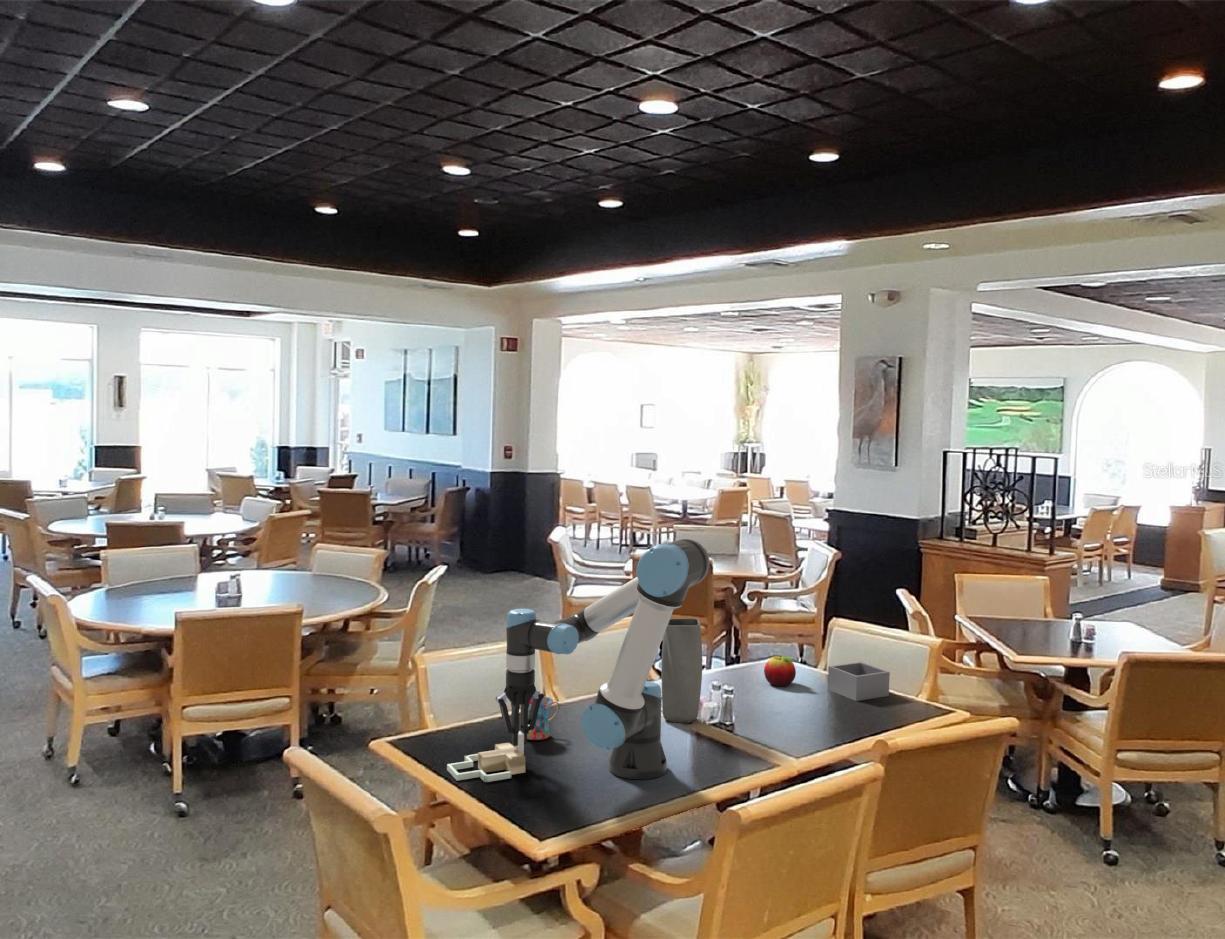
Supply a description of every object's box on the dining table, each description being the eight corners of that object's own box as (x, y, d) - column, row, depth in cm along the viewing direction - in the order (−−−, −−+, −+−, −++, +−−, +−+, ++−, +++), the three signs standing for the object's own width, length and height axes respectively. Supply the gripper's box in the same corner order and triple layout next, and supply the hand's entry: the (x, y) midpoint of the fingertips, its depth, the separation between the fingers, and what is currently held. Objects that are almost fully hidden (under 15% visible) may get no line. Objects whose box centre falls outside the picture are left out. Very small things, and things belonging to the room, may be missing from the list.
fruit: (777, 678, 344) (778, 650, 344) (802, 685, 336) (803, 656, 335) (757, 683, 338) (757, 654, 337) (781, 690, 329) (782, 661, 329)
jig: (511, 778, 249) (511, 772, 248) (461, 786, 243) (461, 780, 242) (489, 757, 263) (489, 752, 263) (442, 764, 257) (442, 759, 257)
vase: (656, 724, 292) (658, 624, 290) (664, 712, 304) (666, 616, 302) (697, 728, 289) (699, 627, 287) (703, 715, 301) (705, 618, 299)
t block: (525, 772, 252) (525, 757, 252) (488, 778, 248) (488, 762, 248) (508, 757, 263) (509, 742, 263) (473, 762, 259) (473, 747, 258)
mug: (528, 744, 273) (529, 707, 272) (514, 735, 281) (514, 698, 280) (566, 737, 279) (567, 701, 279) (551, 728, 287) (552, 692, 287)
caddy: (888, 695, 325) (889, 672, 325) (855, 701, 319) (856, 676, 318) (860, 685, 338) (860, 662, 337) (827, 689, 331) (828, 666, 331)
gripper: (538, 662, 263) (536, 749, 265) (492, 667, 257) (490, 755, 259) (549, 669, 256) (547, 758, 258) (501, 675, 250) (500, 765, 252)
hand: (519, 757), depth 258 cm, fingers closed
